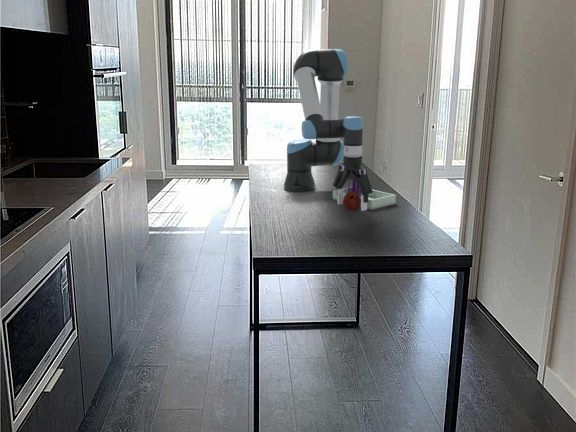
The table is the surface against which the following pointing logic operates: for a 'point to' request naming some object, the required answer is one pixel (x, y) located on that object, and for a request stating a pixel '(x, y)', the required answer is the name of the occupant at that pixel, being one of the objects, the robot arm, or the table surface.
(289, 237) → the table surface
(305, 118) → the robot arm
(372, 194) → the tote
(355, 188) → the beverage can
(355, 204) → the apple
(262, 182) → the table surface
